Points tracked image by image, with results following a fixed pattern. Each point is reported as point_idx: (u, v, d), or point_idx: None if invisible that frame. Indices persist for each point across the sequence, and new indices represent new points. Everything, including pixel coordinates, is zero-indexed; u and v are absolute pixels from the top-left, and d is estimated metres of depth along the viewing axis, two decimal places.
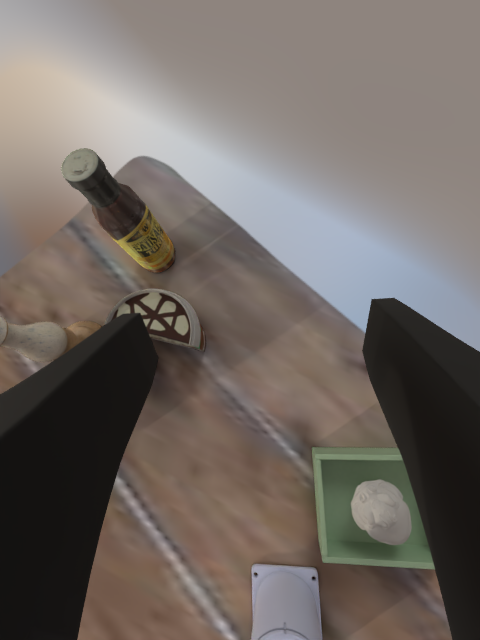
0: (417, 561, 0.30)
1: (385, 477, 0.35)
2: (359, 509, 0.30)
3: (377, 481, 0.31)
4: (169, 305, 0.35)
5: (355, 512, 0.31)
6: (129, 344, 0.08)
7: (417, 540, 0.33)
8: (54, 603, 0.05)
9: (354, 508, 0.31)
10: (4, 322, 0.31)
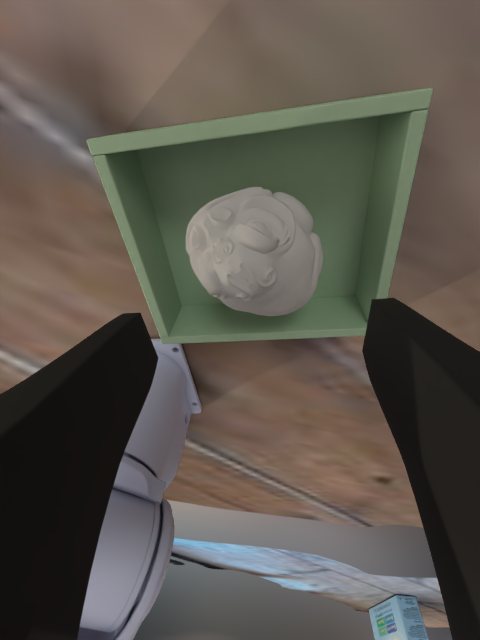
0: (321, 328, 0.17)
1: (295, 185, 0.15)
2: (197, 264, 0.12)
3: (244, 193, 0.11)
4: None
5: (195, 270, 0.13)
6: (129, 344, 0.08)
7: (337, 290, 0.19)
8: (54, 603, 0.05)
9: (191, 263, 0.13)
10: None
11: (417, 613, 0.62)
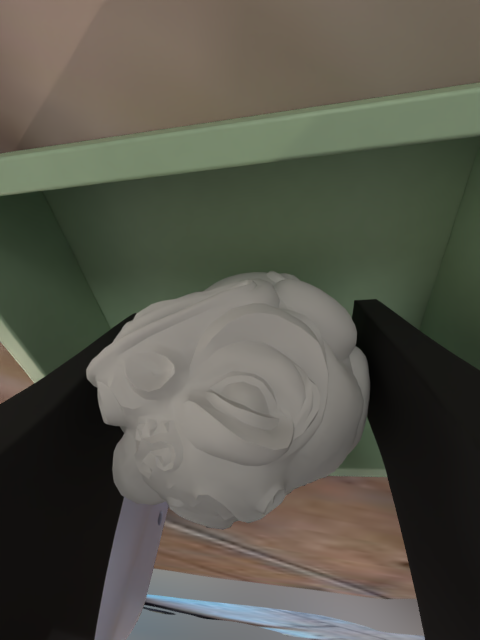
0: (355, 463, 0.10)
1: (316, 240, 0.09)
2: None
3: (210, 307, 0.05)
4: None
5: None
6: None
7: None
8: (72, 605, 0.05)
9: None
10: None
11: None
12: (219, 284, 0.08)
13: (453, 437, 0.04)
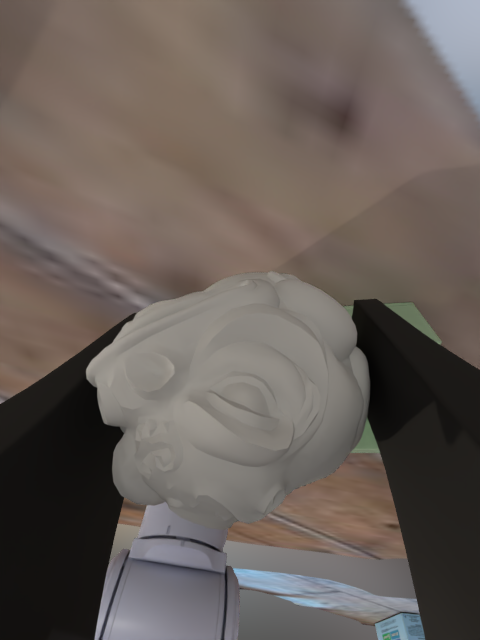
0: None
1: None
2: None
3: (210, 307, 0.05)
4: None
5: None
6: None
7: None
8: (72, 605, 0.05)
9: None
10: None
11: (421, 630, 0.67)
12: (219, 284, 0.07)
13: (452, 436, 0.04)
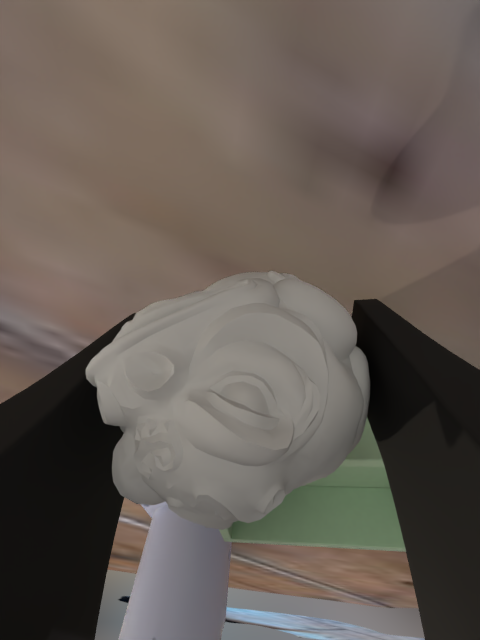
0: (378, 543, 0.18)
1: None
2: None
3: (210, 306, 0.05)
4: None
5: None
6: None
7: (387, 484, 0.20)
8: (72, 605, 0.05)
9: None
10: None
11: None
12: (219, 284, 0.07)
13: (453, 437, 0.04)
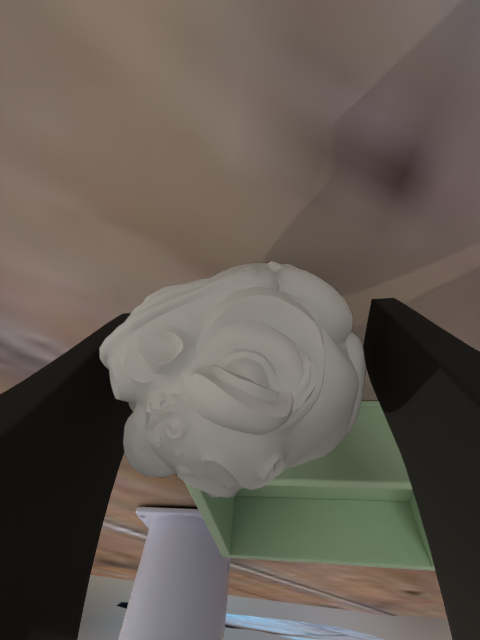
0: (382, 560, 0.17)
1: None
2: None
3: (215, 289, 0.05)
4: None
5: None
6: None
7: (391, 497, 0.19)
8: (54, 603, 0.05)
9: None
10: None
11: None
12: (222, 274, 0.08)
13: None
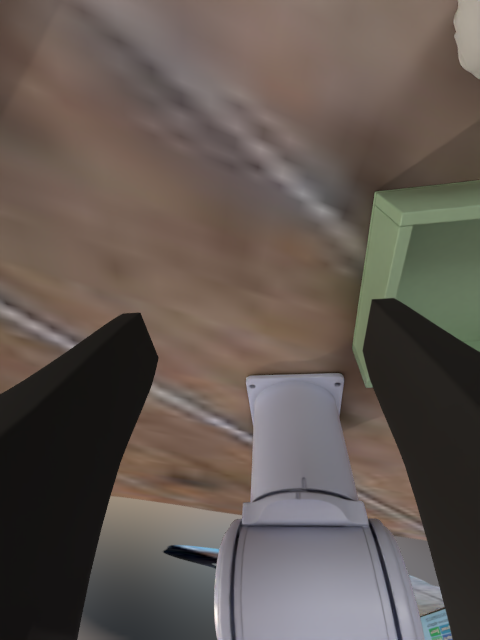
0: None
1: None
2: None
3: None
4: None
5: None
6: (129, 344, 0.08)
7: None
8: (54, 603, 0.05)
9: None
10: None
11: None
12: None
13: None
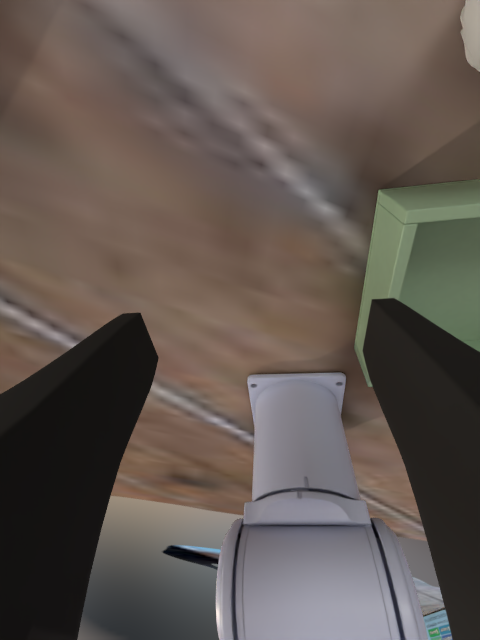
0: None
1: None
2: None
3: None
4: None
5: None
6: (129, 344, 0.08)
7: None
8: (54, 603, 0.05)
9: None
10: None
11: None
12: None
13: None
